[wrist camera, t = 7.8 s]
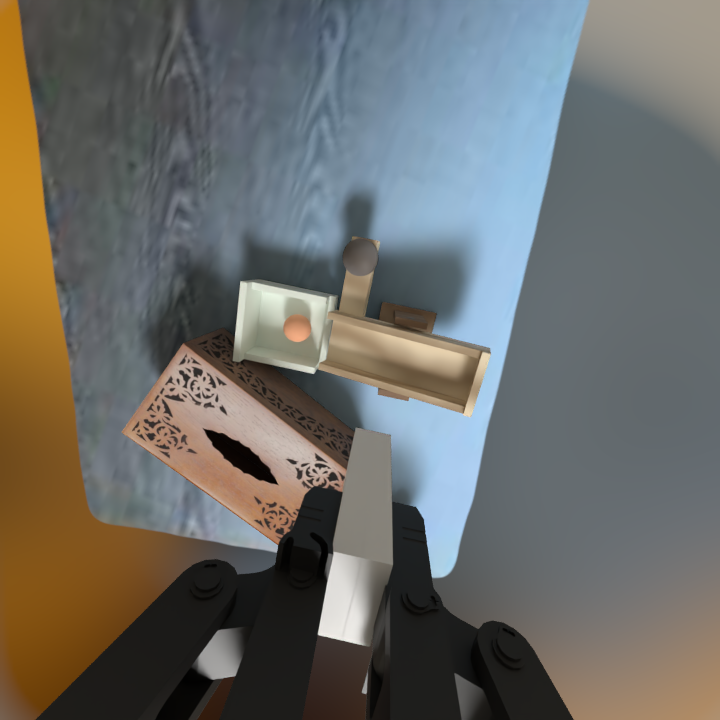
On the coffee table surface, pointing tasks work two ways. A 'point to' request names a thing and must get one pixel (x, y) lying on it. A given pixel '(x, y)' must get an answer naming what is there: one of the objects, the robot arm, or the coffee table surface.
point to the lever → (398, 346)
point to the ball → (297, 328)
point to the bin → (281, 325)
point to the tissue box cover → (241, 433)
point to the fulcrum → (407, 319)
